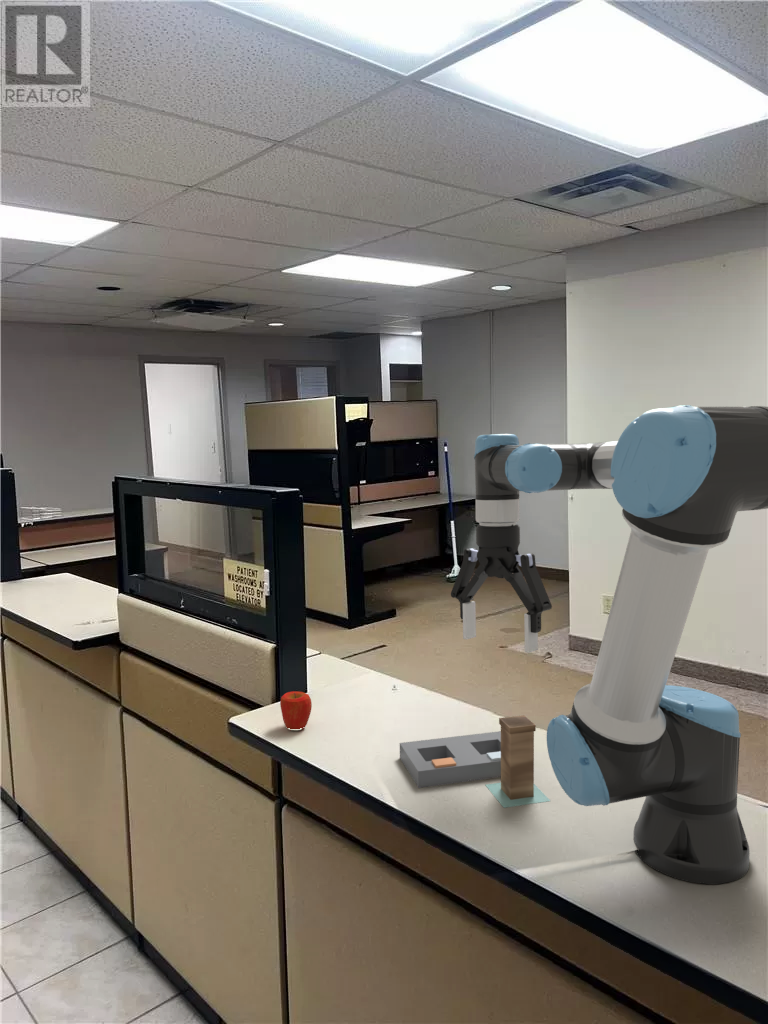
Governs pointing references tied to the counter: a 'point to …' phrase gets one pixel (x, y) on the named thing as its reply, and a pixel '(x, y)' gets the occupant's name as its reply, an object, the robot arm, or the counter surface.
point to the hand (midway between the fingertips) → (499, 644)
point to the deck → (506, 802)
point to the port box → (453, 759)
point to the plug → (517, 756)
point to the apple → (295, 709)
